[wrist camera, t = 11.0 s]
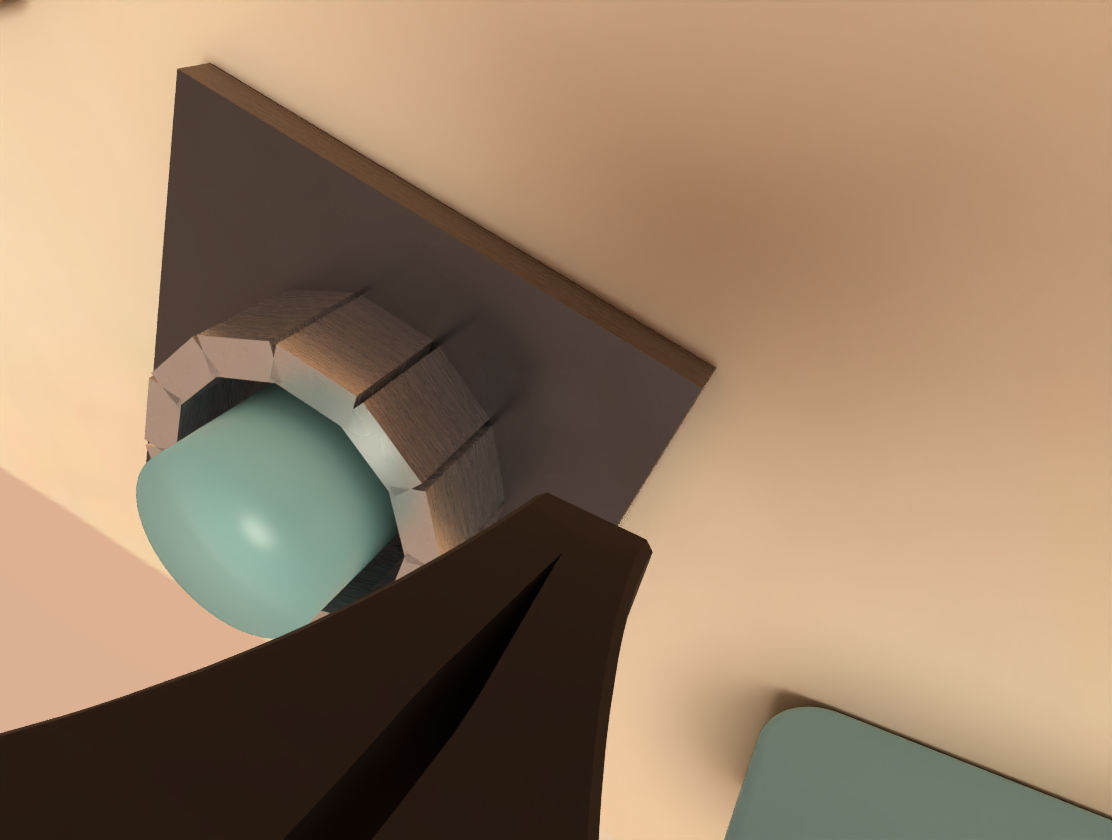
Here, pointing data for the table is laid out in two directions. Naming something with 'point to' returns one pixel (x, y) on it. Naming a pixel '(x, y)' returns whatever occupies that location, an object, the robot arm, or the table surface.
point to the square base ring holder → (394, 332)
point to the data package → (885, 790)
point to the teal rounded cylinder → (265, 513)
